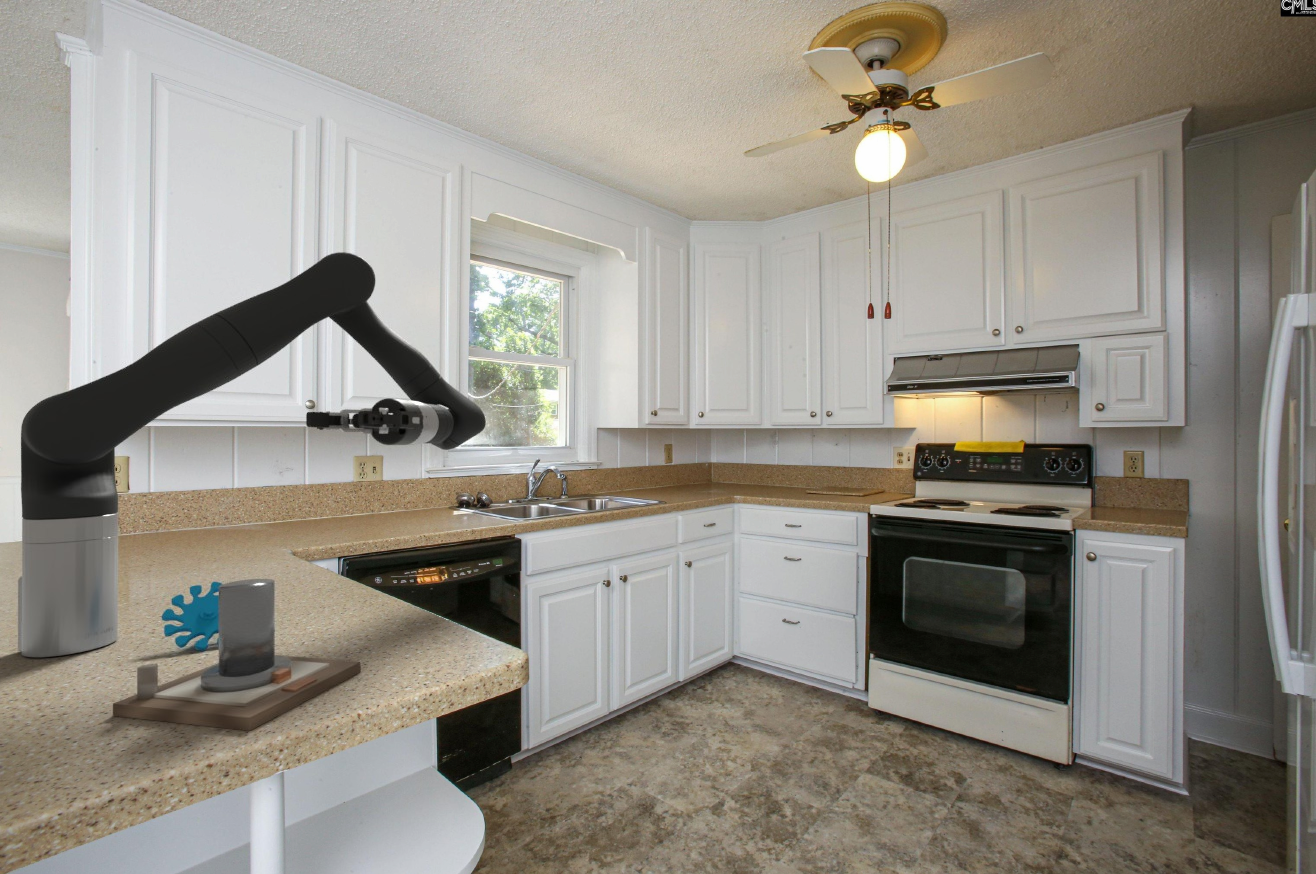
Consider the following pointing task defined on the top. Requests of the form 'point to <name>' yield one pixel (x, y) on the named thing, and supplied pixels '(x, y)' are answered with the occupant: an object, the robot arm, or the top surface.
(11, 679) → the top surface
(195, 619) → the gear
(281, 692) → the mount board
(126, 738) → the top surface
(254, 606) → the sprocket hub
